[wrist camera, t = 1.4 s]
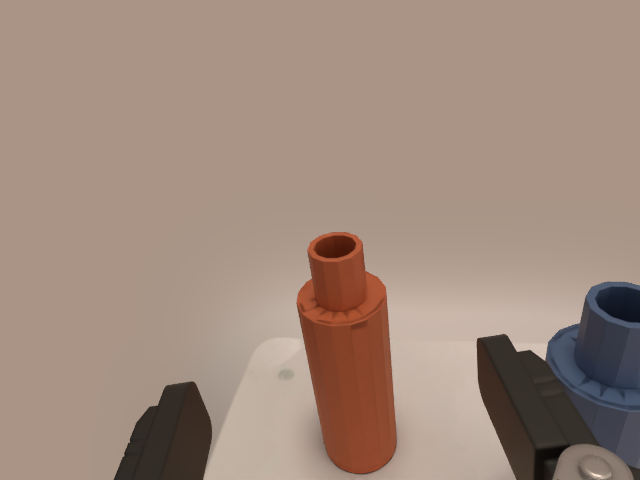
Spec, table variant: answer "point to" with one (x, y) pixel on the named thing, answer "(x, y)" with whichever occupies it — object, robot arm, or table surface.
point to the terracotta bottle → (349, 353)
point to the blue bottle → (604, 367)
